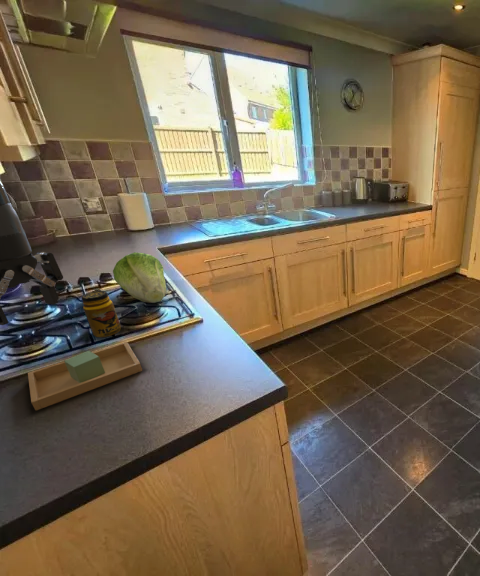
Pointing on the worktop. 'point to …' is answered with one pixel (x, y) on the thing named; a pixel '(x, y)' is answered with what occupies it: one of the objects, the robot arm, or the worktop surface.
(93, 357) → the block
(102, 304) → the condiment
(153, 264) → the lettuce
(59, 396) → the tray
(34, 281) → the robot arm
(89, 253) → the worktop surface
